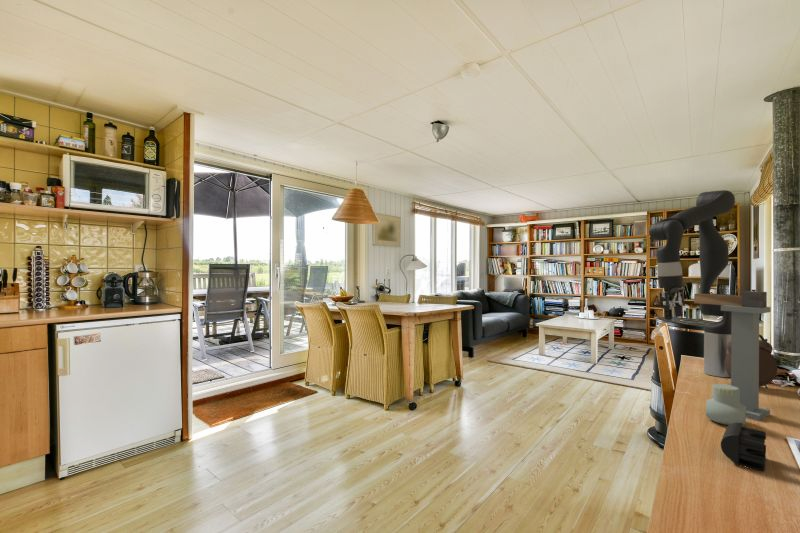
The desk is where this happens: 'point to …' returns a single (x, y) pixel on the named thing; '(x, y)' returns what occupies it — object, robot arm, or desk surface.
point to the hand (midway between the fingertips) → (674, 318)
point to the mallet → (734, 299)
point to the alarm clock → (765, 362)
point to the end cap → (745, 446)
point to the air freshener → (725, 405)
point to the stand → (746, 357)
